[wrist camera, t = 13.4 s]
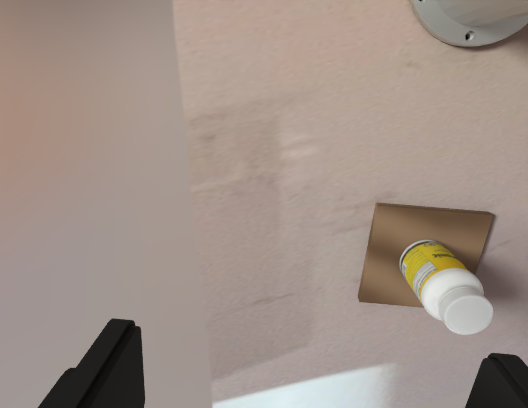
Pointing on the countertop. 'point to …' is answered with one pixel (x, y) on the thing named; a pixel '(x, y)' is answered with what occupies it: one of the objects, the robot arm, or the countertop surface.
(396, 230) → the walnut board
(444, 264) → the supplement bottle
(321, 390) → the countertop surface
